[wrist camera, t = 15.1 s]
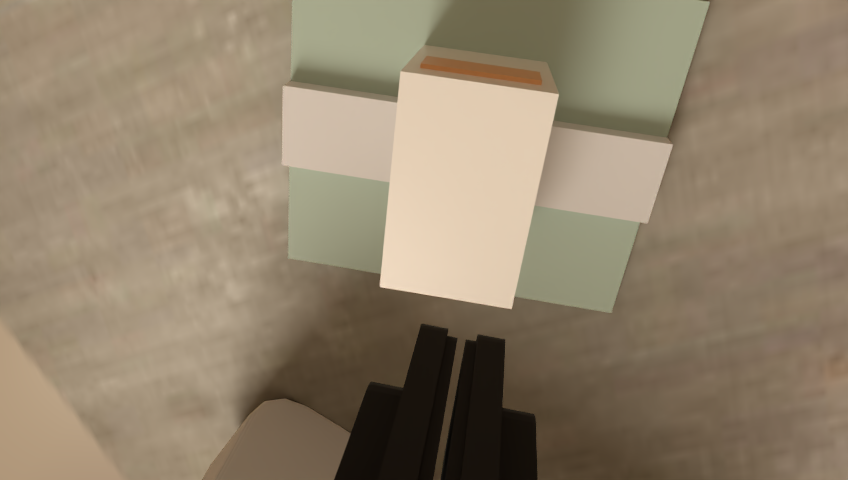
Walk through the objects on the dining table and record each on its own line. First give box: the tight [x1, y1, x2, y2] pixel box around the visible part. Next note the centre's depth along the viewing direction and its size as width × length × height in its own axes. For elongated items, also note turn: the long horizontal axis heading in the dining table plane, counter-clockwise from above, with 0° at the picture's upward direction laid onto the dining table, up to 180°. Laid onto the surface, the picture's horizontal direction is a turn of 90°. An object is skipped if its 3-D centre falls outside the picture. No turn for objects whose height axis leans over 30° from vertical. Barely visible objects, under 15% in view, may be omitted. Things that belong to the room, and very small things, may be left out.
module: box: [380, 45, 559, 309], centre depth 23 cm, size 5×8×6 cm, turn 173°
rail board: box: [282, 0, 710, 313], centre depth 25 cm, size 16×14×2 cm
